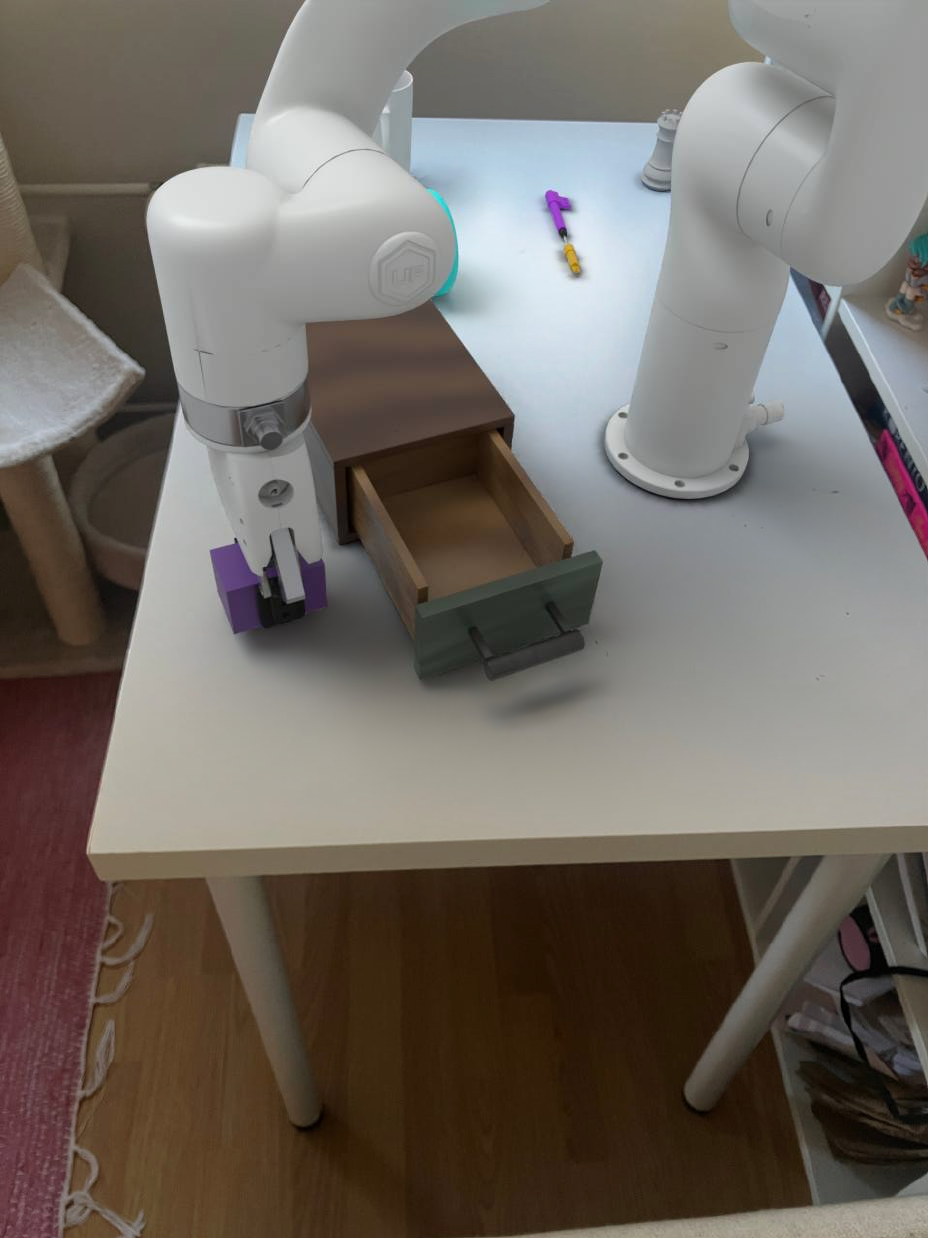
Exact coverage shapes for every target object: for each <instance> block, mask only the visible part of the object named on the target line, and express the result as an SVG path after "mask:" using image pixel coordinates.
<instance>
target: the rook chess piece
mask: <svg viewBox="0 0 928 1238" xmlns="http://www.w3.org/2000/svg"><path fill="white" fill-rule="evenodd" d="M672 110H673V111H672V113H670V112H671V109H665V111H664V110H663V111H662V112H661V115H660V116H659V118H657V120H656V123H657V126H658V128H659V130H658V131H657V133H655V134H656V143H655V146H654V149H653V151H652V154H651V156H650V157H649V158H648V160H647V162H646V163H645V164H644V165H643V168H642V171H643V172H642V173H641V175H640V179H641V182H642V184H643V185H644V186H645V187H646V188H648V189H650V190H653V191H656V192H657V191H658V192H666V191H671V167H672V153H673V146H674V140H675V135H676V131H677V127H678V124H679V121H680V119H681V116H682V114H683V111H680V112H678V109H672Z"/></svg>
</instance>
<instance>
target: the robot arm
mask: <svg viewBox="0 0 928 1238" xmlns="http://www.w3.org/2000/svg"><path fill="white" fill-rule="evenodd" d="M551 1H552V0H304V2H303V4H302V5H301V7H300V8H299V9H298V11H297V12H296V14H295V16H294V18H293V19H292V21H291V24H290V26H289V27H288V29H287V31H286V34H285V36H284V38H283V40H282V42H281V44H280V47H279V49H278V52H277V55H276V58H275V60H274V63H273V65H272V68H271V71H270V74H269V76H268V79H267V81H266V84H265V86H264V89H263V92H262V95H261V97H260V100H259V102H258V106H257V108H256V111H255V115H254V118H253V122H252V125H251V128H250V132H249V136H248V141H247V147H246V154H245V168H243V167H239V166H238V167H237V166H227V165H226V166H224V165H223V166H222V165H217V166H215V165H214V166H206V167H197V168H194V169H191V170H187V171H184V172H182V173H178V174H176V175H174V176H173V177H171V178H169V179H168V180H166V181H165V182H164V183H163V184H162V185H160V187H158V188H157V189H156V191H155V192H154V193H153V195H152V197H151V198H150V200H149V203H148V207H147V211H146V231H147V237H148V243H149V248H150V253H151V258H152V263H153V268H154V272H155V279H156V283H157V288H158V294H159V299H160V303H161V304H160V305H161V308H162V309H161V310H162V313H163V318H164V324H165V329H166V334H167V340H168V345H169V350H170V355H171V362H172V365H173V371H174V375H175V381H176V386H177V390H178V397H179V401H180V407H181V412H182V414H183V415H182V416H183V421H184V425H185V428H186V430H187V431H188V432H189V434H190V435H191V436H192V437H193V438H194V439H195V440H197V441H198V442H199V443H201V444H203V445H204V446H206V451H207V456H208V457H207V458H208V461H209V465H210V469H211V470H210V471H211V474H212V478H213V481H214V485H215V488H216V491H217V494H218V497H219V499H220V502H221V504H222V507H223V510H224V513H225V515H226V517H227V520H228V522H229V524H230V525H229V526H230V527H231V529H232V531H233V534H234V536H235V537H233V541H234V543H239V545H240V548H241V550H242V552H243V554H244V557H245V559H246V561H247V563H248V566H249V568H250V569H251V571H252V572H253V573H255V574H256V575H257V577H258V582H259V587H256V588H255V592H256V598H257V605H258V611H259V618H260V622H261V625H262V626H261V628H263V629H265V630H267V629H271V628H274V627H279V626H282V625H287V624H290V623H292V622H294V621H298V620H302V619H304V618H305V617H306V614H307V613H306V612H305V602H304V599H305V598H306V597H305V592H304V588H303V581H302V576H301V570H300V563H299V557H298V552H299V553H300V554H301V555H302V557H303V558H304V559H305V560H306V562H307V563H308V564H311V563H313V562H317V561H320V559H321V558H323V554H324V547H323V538H322V531H321V524H320V515H319V508H318V503H317V500H316V494H315V487H314V481H313V475H312V470H311V465H310V460H309V456H308V451H307V447H306V443H305V439H304V436H303V431H304V429H305V428H306V427H307V425H308V423H309V421H310V418H311V411H312V410H311V397H310V383H309V369H308V353H307V339H306V325H305V323H311V322H327V321H344V320H364V319H376V318H383V317H389V316H394V315H398V314H401V313H404V312H407V311H409V310H412V309H414V308H416V307H418V306H420V305H422V304H423V303H425V302H426V301H428V300H429V299H431V298H433V297H435V296H434V295H435V294H436V293H437V292H438V291H439V290H440V288H441V287H442V286H443V284H444V283H445V281H446V280H447V278H448V277H449V274H450V272H451V270H452V267H453V263H454V260H455V253H456V241H455V235H454V230H453V227H452V224H451V221H450V219H449V217H448V215H447V213H446V212H445V210H444V209H443V207H442V206H441V204H440V203H439V202H438V201H437V200H436V199H435V197H434V196H433V195H432V194H431V193H430V192H429V191H428V190H427V189H428V188H426V187H425V185H423V184H422V183H421V182H420V181H418V179H416V178H415V177H414V176H413V175H412V174H411V173H410V174H409V173H408V172H407V171H406V170H405V169H404V168H403V167H402V166H401V165H399V164H398V163H397V162H396V160H395V159H394V158H392V157H391V156H390V155H389V154H388V153H387V152H386V151H385V150H384V149H382V148H381V147H380V146H379V145H378V144H377V143H376V142H375V141H373V140H372V139H371V137H372V135H373V133H374V130H375V128H376V126H377V123H378V121H379V119H380V116H381V114H382V112H383V110H384V107H385V105H386V103H387V101H388V99H389V97H390V95H391V93H392V91H393V89H394V87H395V85H396V83H397V82H398V80H399V79H400V77H401V76H402V74H403V73H404V71H405V70H406V71H407V68H408V67H409V66H410V65H411V63H412V62H413V61H414V60H415V59H416V58H417V56H418V55H419V54H420V53H421V52H422V51H423V50H424V49H426V48H427V46H429V45H430V44H431V43H432V42H434V41H435V40H437V39H438V38H440V36H443V35H444V34H446V33H447V32H449V31H451V30H453V29H456V28H458V27H460V26H463V25H465V24H468V23H471V22H476V21H479V20H480V21H481V20H484V19H488V18H492V17H496V16H501V15H506V14H511V13H517V12H524V11H525V12H526V11H530V10H534V9H538V8H540V7H542V6H545V5H546V4H548V3H550V2H551ZM727 12H728V17H729V20H730V23H731V25H732V26H733V29H734V30H735V32H736V33H737V34H738V36H739V37H740V38H741V39H742V40H743V41H744V42H745V43H747V44H748V45H749V46H750V47H752V48H754V49H755V50H756V51H758V52H759V53H761V54H762V55H763V56H764V57H767V58H769V59H770V60H772V61H773V62H775V63H777V64H779V65H780V66H782V67H780V66H777V65H773V64H769V63H765V62H760V61H745V62H738V63H734V64H731V65H728V66H725V67H723V68H722V69H719V70H718V71H716V72H715V73H713V74H712V75H710V76H709V77H707V78H706V79H705V80H704V81H703V82H702V83H701V84H700V86H699V87H697V89H696V90H695V91H694V93H693V94H692V95H691V97H690V98H689V100H688V102H687V104H686V105H685V108H684V109H683V111H682V113H683V114H682V116H681V119H680V121H679V124H678V127H677V131H676V135H675V140H674V146H673V153H672V167H671V189H670V209H669V219H668V228H667V234H666V242H665V247H664V252H663V257H662V262H661V266H660V269H659V270H660V271H659V274H658V280H657V283H656V286H655V292H654V295H653V301H652V304H651V309H650V313H649V318H648V322H647V327H646V331H645V336H644V340H643V345H642V348H641V353H640V358H639V362H638V367H637V371H636V374H635V378H634V379H635V380H634V384H633V389H632V393H631V397H630V402H629V403H627V404H625V405H624V406H622V407H620V408H618V410H617V411H616V412H614V413H613V415H612V416H611V417H610V419H609V420H608V422H607V425H606V429H605V434H604V439H603V444H604V450H605V453H606V456H607V458H608V460H609V462H610V463H611V465H612V466H613V467H614V469H615V470H616V471H617V472H618V473H619V474H620V475H621V476H622V477H623V478H625V479H626V480H628V481H629V482H631V483H632V484H633V485H635V486H637V487H639V488H641V489H643V490H645V491H648V492H650V493H654V494H655V495H659V496H663V497H668V498H673V499H685V500H691V499H693V500H694V499H704V498H708V497H713V496H716V495H719V494H721V493H724V492H726V491H727V490H729V489H730V488H732V487H734V486H735V485H736V484H737V483H738V482H739V481H740V479H741V478H742V477H743V475H744V473H745V471H746V468H747V465H748V461H749V459H750V457H749V456H750V449H749V445H748V441H747V439H746V437H747V435H748V434H751V433H753V432H754V431H755V429H756V428H757V427H759V426H767V425H770V424H774V423H778V422H781V421H782V420H783V419H784V417H785V408H784V404H783V403H782V402H781V401H780V400H779V399H774V400H773V399H772V400H770V401H766V402H763V403H762V402H761V403H759V404H757V405H755V406H750V405H753V404H754V403H755V401H756V395H755V392H754V388H755V385H756V382H757V380H758V377H759V373H760V371H761V367H762V364H763V361H764V358H765V355H766V354H767V353H766V352H767V350H768V347H769V343H770V341H771V338H772V335H773V333H774V329H775V327H776V323H777V320H778V317H779V316H780V314H781V310H782V307H783V304H784V301H785V299H786V295H787V291H788V287H789V281H790V276H791V268H792V269H793V270H795V271H796V272H797V273H799V274H800V275H802V276H803V277H806V278H807V279H809V280H811V281H813V282H815V283H818V284H820V285H823V286H828V287H837V288H841V287H842V288H843V287H849V286H854V285H857V284H860V283H862V282H865V281H866V280H869V278H871V277H873V276H874V275H875V274H877V273H878V272H879V271H880V270H881V269H883V268H884V267H885V266H886V265H887V264H888V263H889V262H890V261H891V260H892V258H893V257H894V256H895V255H896V254H897V253H898V251H899V250H900V248H901V247H902V245H903V244H904V243H905V242H906V239H908V236H909V234H910V233H911V231H912V229H913V228H914V226H915V224H916V222H917V219H918V218H919V216H920V214H921V211H922V209H923V207H924V205H925V204H926V203H925V202H926V201H927V198H928V0H727ZM783 67H784V68H785V69H784V68H783ZM297 550H298V551H297ZM273 566H276V570H277V574H278V576H275V577H271V578H268V573H267V569H266V568H270V567H273Z"/></svg>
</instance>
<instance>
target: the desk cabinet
mask: <svg viewBox="0 0 928 1238" xmlns="http://www.w3.org/2000/svg"><path fill="white" fill-rule="evenodd" d="M305 325H306V339H307V353H308V369H309V383H310V397H311V410H312V411H311V418H310V421H309V423H308V425H307V427H306V428H305V429H304V431H303V436H304V439H305V443H306V447H307V451H308V456H309V460H310V465H311V470H312V475H313V481H314V487H315V494H316V500H317V506H319V508H320V510H321V512H322V513H321V514H323V516H324V519H325V520H326V523H327V525H328V526H329V529H330V530H331V532H332V535H333V536H334V539H335V540H336V542H337V544H338V545H343V544H347V543H351V542H353V541H357V540H361V539H360V538H359V536H358V534H357V532H356V530H355V528H354V526H353V524H352V522H351V520H350V518H349V517H348V511H347V492H346V473H345V467H349V466H353V465H357V464H361V463H364V462H368V461H372V460H376V459H380V458H384V457H388V456H392V455H396V454H399V453H403V452H407V451H411V450H415V449H419V448H423V447H427V446H430V445H434V444H438V443H442V442H446V441H450V440H454V439H458V438H461V437H465V436H469V435H473V434H477V433H481V432H485V431H489V430H493V429H496V430H497V432H498V433H499V434H500V436H501V437H502V439H503V440H504V442H505V443H506V445H507V446H508V447H509V449H510V450H511V451H512V448H513V447H512V446H513V438H514V430H515V421H516V415H515V413H514V412H513V411H512V409H511V408H510V406H509V404H508V403H507V402H506V401H505V399H504V398H503V397H502V395H501V394H500V392H499V391H498V390H497V388H496V387H495V385H494V384H493V382H491V380H490V379H489V377H488V376H487V375H486V373H485V372H484V371H483V369H482V367H481V366H480V365H479V364H478V362H477V361H476V359H475V358H474V357H473V355H472V354H471V352H470V351H469V349H468V348H467V347H466V346H465V344H464V343H463V341H462V340H461V339H460V338H459V336H458V335H457V333H456V332H455V330H454V329H453V328H452V326H451V325H450V324H449V322H448V321H447V320H446V318H445V317H444V315H443V314H442V312H441V311H440V310H439V308H438V307H437V306H436V304H435V303H434V301H433V300H432V299H431V298H430V299H429V300H428V301H426V302H425V303H423V304H422V305H420V306H418V307H416V308H414V309H412V310H409V311H407V312H404V313H401V314H398V315H394V316H389V317H383V318H376V319H364V320H344V321H327V322H311V323H305Z"/></svg>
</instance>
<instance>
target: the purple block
mask: <svg viewBox="0 0 928 1238" xmlns="http://www.w3.org/2000/svg"><path fill="white" fill-rule="evenodd" d="M297 551H298V550H297ZM209 555H210V560H211V561H210V562H211V565H212V570H213V575H214V581H215V586H216V590H217V594H218V596H219V597H218V598H219V599H220V603H221V605H222V607H223V610H224V613H225V615H226V618H227V620H228V622H229V625H230V628H231V631H232V633H233V634H234V635H237V634H240V633H243V632H247V631H251V630H253V629H257V628H260V627H262V625H261V622H260V618H259V611H258V605H257V598H256V592H255V588H256V587H259V582H258V577H257V575H256V574H255V573H253V572H252V571H251V569H250V568H249V566H248V563H247V561H246V559H245V557H244V554H243V552H242V550H241V548H240V545H239V543H235V542H234V543H231V544H228V545H223V546H219V547H216V548H212V549H209ZM298 557H299V563H300V570H301V576H302V581H303V588H304V592H305V597H306V598H305V599H304V602H305V612H306V614H308V613H310V612H315V611H318V610H322V609H325V608H328V606H329V604H328V591H327V577H326V564H325V562H324V560H323V557H321V559H320V561H317V562H313V563H311V564H308V563H307V562H306V560H305V559H304V558H303V557H302V555H301V554H300V553H299V552H298ZM266 569H267V573H268V578H271V577H275V576H278V574H277V570H276V566H273V567H270V568H266Z"/></svg>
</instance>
